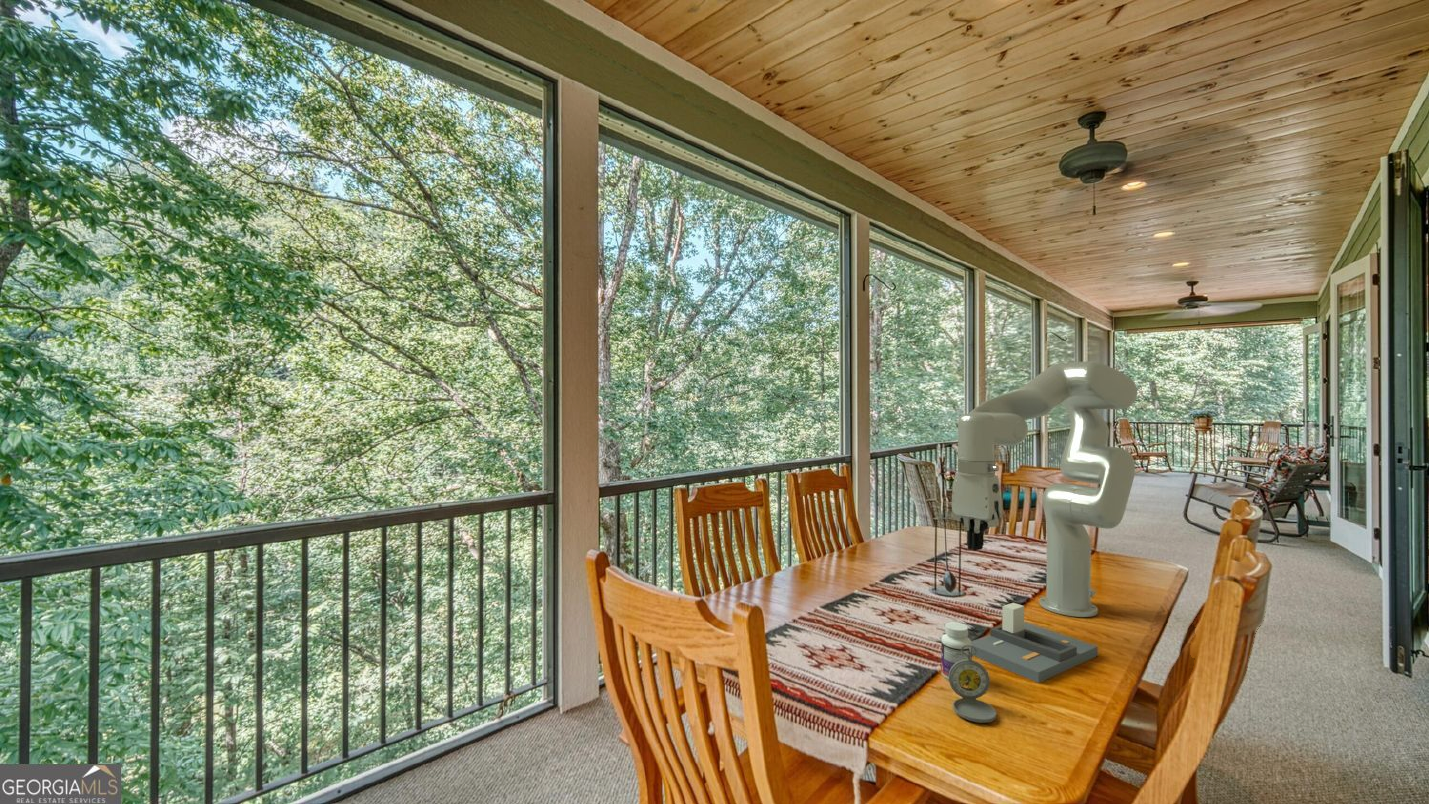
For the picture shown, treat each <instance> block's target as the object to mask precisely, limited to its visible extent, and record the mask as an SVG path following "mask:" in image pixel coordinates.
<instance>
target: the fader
mask: <svg viewBox="0 0 1429 804" xmlns="http://www.w3.org/2000/svg"><path fill="white" fill-rule="evenodd" d="M1001 615H1002V620H1001V621H1002V623H1001V625H1002V631H1004V632H1007V633H1010V634H1012V635H1015V636H1018V637H1021V638H1025V630H1024V623H1025V605H1022V604H1019V603H1015V602H1012V603H1008V604H1005V605H1002V613H1001Z"/></svg>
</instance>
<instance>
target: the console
mask: <svg viewBox="0 0 1429 804" xmlns="http://www.w3.org/2000/svg"><path fill="white" fill-rule="evenodd" d="M1024 630H1025V638H1021V637H1018V636H1015V635H1012V634H1010V633H1007V632H1004V631H1002V624H1000V625H997V626H994V627H992V628H990V629H989V634H988V635H985V636H983V637H982V636H981V637H980V638H977V639H974V640H971V642H972V646H973V647H974V648H976V650H977V653H976V654H975V655H973V657H976V658H978V659H980V660H983V661H985V662H987V663H989V664H993V665H995V666H997V667H999V668H1002V669H1004V670H1006V671H1009V672H1011V673H1013V674H1017V675H1018V676H1020V677H1022V678H1023V677H1024V678H1025V679H1027V680H1031V681H1032V682H1035V683H1037V684H1039V683H1042V682H1044V681H1046V680H1048V679H1050V678H1053V677H1055V676H1057V675H1059V674H1062V673H1063V672H1066V671H1068V670H1070V669H1073V668H1075V667H1077V666H1079V665H1081V664H1083V663H1085V662H1088V661H1090V660H1092V659H1094V658H1096V656H1097V657H1098V656H1099V652H1098V651H1099V646H1098V645H1095V644H1092V643H1089V642H1087V641H1083V640H1080V639H1077V638H1074V637H1071V636H1068V635H1065V634H1062V633H1059V632H1056V631H1054V630H1051V629H1048V628H1045V627H1042V626H1039V625H1036V624H1033V623H1030V622H1027V621H1026V622H1025V621H1024ZM974 648H972V654H974V653H975V649H974ZM1076 665H1077V666H1076ZM1074 666H1075V667H1074ZM1072 667H1073V668H1072Z"/></svg>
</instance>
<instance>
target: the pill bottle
mask: <svg viewBox="0 0 1429 804" xmlns="http://www.w3.org/2000/svg"><path fill="white" fill-rule="evenodd" d="M944 627H945V628H944V629H945V633H944V634H943V635H942V636H941V640H940V641H941V644H940V645H941V649H940V650H941V663H940V666H941V667H940V668H941V671H940V672H941V675H942V677H943V678H945V679H946V680H948V681H949V671H950V669H951V667H952V666H953V665H954V664H955V663H956V662H958V661H960V660H964V659H968V657H967V656H966V655H965V654H963V653H962V651H961V648H962V647H963V646H966V645H970V646H972V642H971V641H972V640H971V639H970V638H969V637H968V635H969V627H968V625H966V624H964V623H962V622H956V621H953V622H952V621H950V622H946V623H945V625H944ZM968 651H970V652H971V653H972V647H964V648H963V652H964V653H968ZM971 660H973V657H971ZM958 681H959V680H958ZM960 682H961V681H960ZM967 682H968V681H967ZM964 683H965V684H966V681H964Z"/></svg>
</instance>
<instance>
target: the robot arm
mask: <svg viewBox="0 0 1429 804" xmlns="http://www.w3.org/2000/svg"><path fill="white" fill-rule="evenodd" d="M1137 397H1138V388H1137V386H1136V383H1135V381H1134V380H1133V379H1132V378H1131V377H1130V376H1129V375H1127V374H1125V373H1123V372H1121V371H1119V370H1117V369H1115V368H1113V367H1111V366H1109V365H1107V364H1104V363H1101V362H1097V361H1090V360H1089V361H1087V360H1086V361H1070V362H1069V361H1068V362H1059V363H1054V364H1052V365H1050V366H1048V367H1047V368H1045V369H1044V370H1043V371H1042V372H1040V373H1039V374H1038V375H1036V376H1035V377H1034V378H1032V379H1031V380H1029V382H1027V383H1026V384H1025V385H1023V386H1021V387H1018V388H1015V389H1013V390H1011V391H1007V392H1005V393H1003V394H1000V395H997V396H994V397H992V398H990V399H987V400H985V401H983V402H982V403H980V404H979V405H977V406H976V407H975V408H974V409H972V410H971V411H970V412H968V413H964V414H962V415H960V416H959V417H958V421H957V422H958V425H957V427H958V428H957V429H958V430H957V472H955V475H954V479H953V484H952V492H951V511H952V513H953V514H952V518H953V519H954V520H956V521H958V522H960V523H961V524H962V525H963V526H964V527H963V528H964V530H965V531H966V544H967V549H968V550H972V551H975V552H976V551H979V550H980V551H981V550H983V547H984V533H985V532H987V530H988V529H989V528H996V527H999V526H1000V521H999V520H1000V519H1002V518H1003V499H1002V490H1001V483H1000V479H999V476H998V475H995V473H996V472H999V470H1000V467H999V465H997V464H996V462H995V446H1003V447H1004V446H1005V447H1008V446H1009V447H1012V446H1017V445H1019V444H1021V443H1022V442H1024V441H1025V440H1026V438H1027V436H1028V433H1029V426H1028V423H1027V421H1028V420H1033V419H1037V418H1041V417H1044V416H1046V415H1049V414H1050V413H1051V412H1052V411H1054V409H1056V408H1057V407H1058V406H1060V405H1061V404H1062V403H1063V406H1064V407H1065V409H1066V412H1067V414H1068V416H1069V417H1068V418H1069V422H1070V428H1069V432H1068V436H1067V440H1066V443H1065V445H1064V450H1063V452H1062V456H1061V459H1060V465H1059V469H1060V472H1061V474H1062V476H1064V477H1065V478H1066V479H1069V480H1072V481H1076V482H1081V483H1087V484H1096V485H1099V487H1095V486H1088V485H1081V484H1075V483H1067V482H1066V483H1065V482H1062V483H1061V482H1060V483H1053V484H1051V485H1049V486H1047V487H1046V489H1045V490H1044V492H1043V494H1042V508H1043V512H1044V517H1045V523H1046V524H1045V525H1046V526H1045V527H1046V584H1045V585H1046V587H1045V589H1046V590H1045V591H1046V595H1045V596H1042V597H1040V598H1039V606H1041V607H1042V608H1043V609H1045V610H1046V611H1050V612H1052V613H1056V614H1060V615H1063V616H1067V617H1074V618H1075V617H1076V618H1077V617H1078V618H1091V617H1094V616H1097V615H1098V613H1099V610H1098V607H1097V606H1096V605H1094V604H1093V603H1091V597H1094V596H1096V594H1097V593H1096V592H1097V591H1096V590H1095V589H1093V588H1091V579H1092V578H1091V569H1092V568H1091V567H1092V565H1091V563H1092V562H1091V561H1092V555H1091V554H1092V551H1091V550H1092V548H1091V547H1092V543H1091V542H1092V541H1091V539H1090V538H1091V537H1090V535H1089V532H1088V531H1087V529H1086V528H1085V526H1088V527H1093V528H1100V529H1109V530H1111V529H1114V528H1116V527H1117V526H1119V525H1120V524H1121V521H1122V520H1123V518H1124V515H1125V512H1126V508H1127V504H1128V502H1129V497H1130V494H1131V491H1132V487H1133V482H1134V479H1135V474H1136V465H1135V460H1134V457H1133V455H1132V454H1131V453H1130V452H1129V451H1128V450H1126V449H1124V448H1121V447H1116V446H1115V447H1114V446H1108V445H1107V444H1108V439H1109V434H1110V430H1109V429H1110V428H1109V426H1108V424H1107V422H1106V420H1105V419H1104V418H1103V416H1102V415H1101V414H1100V412H1099V411H1098V410H1124V409H1128V408H1130V407H1131V406H1132V405H1133V404H1134V403H1135V402H1136V401H1137Z"/></svg>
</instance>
